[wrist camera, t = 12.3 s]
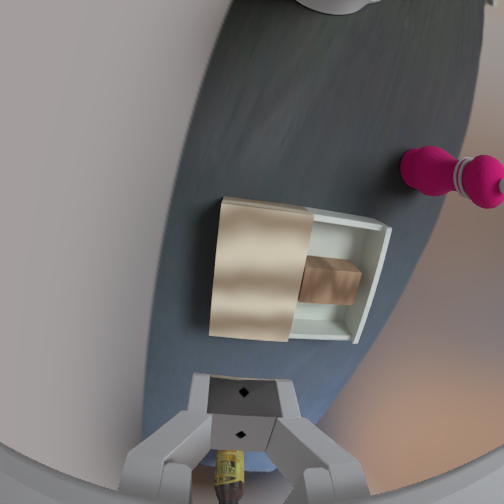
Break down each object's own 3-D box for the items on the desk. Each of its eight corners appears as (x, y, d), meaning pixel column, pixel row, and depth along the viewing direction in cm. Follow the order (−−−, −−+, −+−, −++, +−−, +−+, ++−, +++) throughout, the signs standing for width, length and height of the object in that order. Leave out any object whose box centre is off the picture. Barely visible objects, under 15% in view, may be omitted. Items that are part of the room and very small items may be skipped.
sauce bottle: (234, 437, 56) (236, 513, 37) (248, 449, 58) (252, 520, 39) (210, 444, 56) (206, 516, 38) (225, 455, 58) (224, 524, 40)
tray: (303, 206, 40) (314, 215, 35) (373, 218, 41) (392, 228, 36) (282, 319, 46) (287, 341, 40) (345, 323, 47) (357, 343, 41)
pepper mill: (399, 194, 40) (492, 228, 21) (393, 147, 38) (490, 153, 19) (434, 188, 40) (527, 217, 21) (430, 143, 38) (526, 151, 19)
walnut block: (305, 267, 37) (361, 272, 38) (298, 254, 42) (349, 259, 42) (298, 302, 39) (352, 305, 39) (292, 286, 43) (341, 290, 44)
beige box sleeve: (223, 196, 39) (221, 203, 34) (303, 206, 40) (314, 215, 35) (212, 313, 45) (209, 335, 39) (282, 319, 46) (287, 341, 40)
